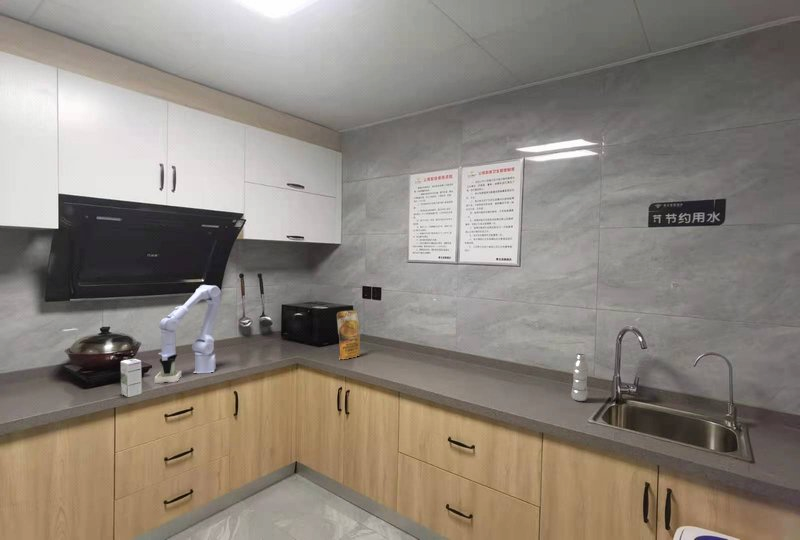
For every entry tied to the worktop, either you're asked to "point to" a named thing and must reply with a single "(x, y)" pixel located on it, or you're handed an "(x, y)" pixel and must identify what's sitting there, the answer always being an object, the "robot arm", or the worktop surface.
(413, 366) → the worktop surface
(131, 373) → the syrup box
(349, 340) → the pancake mix bag
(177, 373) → the bin
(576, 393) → the plastic bottle
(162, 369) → the block
